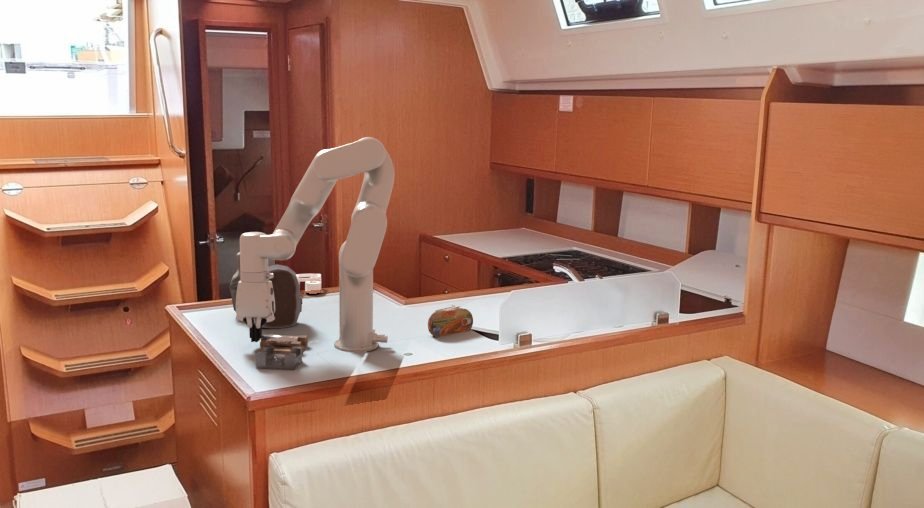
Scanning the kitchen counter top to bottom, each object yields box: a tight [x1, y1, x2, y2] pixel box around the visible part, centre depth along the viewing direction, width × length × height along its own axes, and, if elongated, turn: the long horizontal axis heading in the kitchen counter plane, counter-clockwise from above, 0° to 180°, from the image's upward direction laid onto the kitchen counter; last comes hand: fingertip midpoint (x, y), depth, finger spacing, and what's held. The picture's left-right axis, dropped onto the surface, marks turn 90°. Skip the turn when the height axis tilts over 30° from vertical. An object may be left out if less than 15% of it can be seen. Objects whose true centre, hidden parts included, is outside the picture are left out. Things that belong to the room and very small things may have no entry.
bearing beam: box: [259, 333, 309, 355], centre depth 213 cm, size 11×8×3 cm
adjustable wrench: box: [434, 304, 461, 312], centre depth 256 cm, size 25×6×2 cm, turn 155°
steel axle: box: [260, 334, 299, 347], centre depth 213 cm, size 10×3×3 cm, turn 87°
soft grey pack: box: [262, 264, 303, 330], centre depth 235 cm, size 15×8×20 cm, turn 109°
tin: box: [427, 307, 474, 338], centre depth 230 cm, size 15×3×8 cm, turn 123°
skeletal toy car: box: [296, 273, 322, 292], centre depth 278 cm, size 20×11×7 cm, turn 115°
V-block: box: [255, 345, 303, 371], centre depth 199 cm, size 10×7×4 cm
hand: (255, 340), depth 213 cm, fingers closed
